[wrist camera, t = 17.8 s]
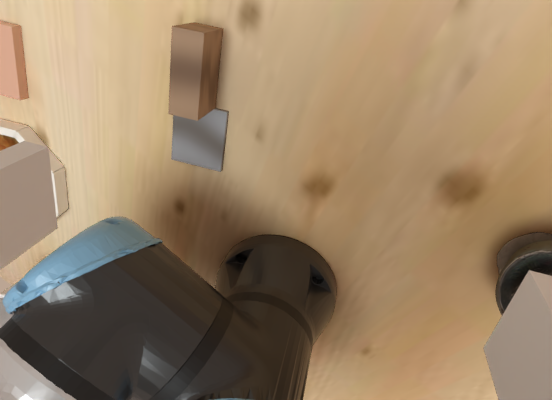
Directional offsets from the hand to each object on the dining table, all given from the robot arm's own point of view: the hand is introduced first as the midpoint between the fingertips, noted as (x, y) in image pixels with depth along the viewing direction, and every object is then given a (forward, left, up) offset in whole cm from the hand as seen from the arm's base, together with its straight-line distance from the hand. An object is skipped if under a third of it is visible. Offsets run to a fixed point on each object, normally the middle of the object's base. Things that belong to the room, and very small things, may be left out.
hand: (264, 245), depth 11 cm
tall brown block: (-6, +14, -32) cm, 35 cm away
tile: (-3, +39, -31) cm, 50 cm away
